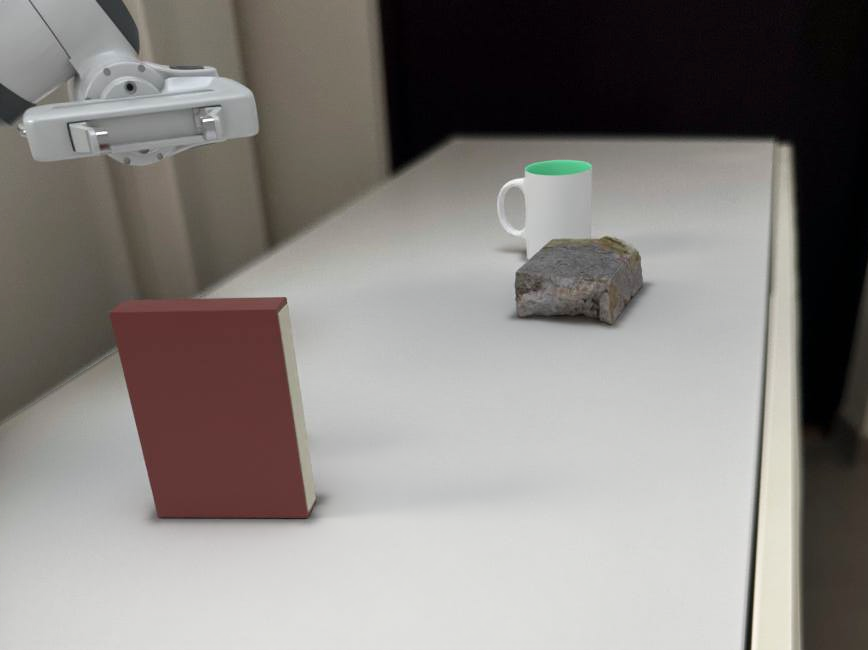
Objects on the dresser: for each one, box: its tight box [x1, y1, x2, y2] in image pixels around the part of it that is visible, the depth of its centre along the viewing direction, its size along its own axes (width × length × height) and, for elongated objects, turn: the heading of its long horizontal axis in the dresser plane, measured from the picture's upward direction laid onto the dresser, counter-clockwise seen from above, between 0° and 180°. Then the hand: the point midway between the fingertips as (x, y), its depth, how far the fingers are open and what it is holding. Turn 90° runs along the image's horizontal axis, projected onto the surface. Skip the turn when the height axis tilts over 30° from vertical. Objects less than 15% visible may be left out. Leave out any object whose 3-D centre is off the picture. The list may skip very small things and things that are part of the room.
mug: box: [496, 159, 593, 261], centre depth 130 cm, size 12×8×10 cm, turn 71°
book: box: [108, 296, 317, 519], centre depth 78 cm, size 12×3×16 cm, turn 85°
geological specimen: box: [514, 235, 644, 325], centre depth 116 cm, size 11×6×15 cm
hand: (158, 136), depth 89 cm, fingers open, 8 cm apart
